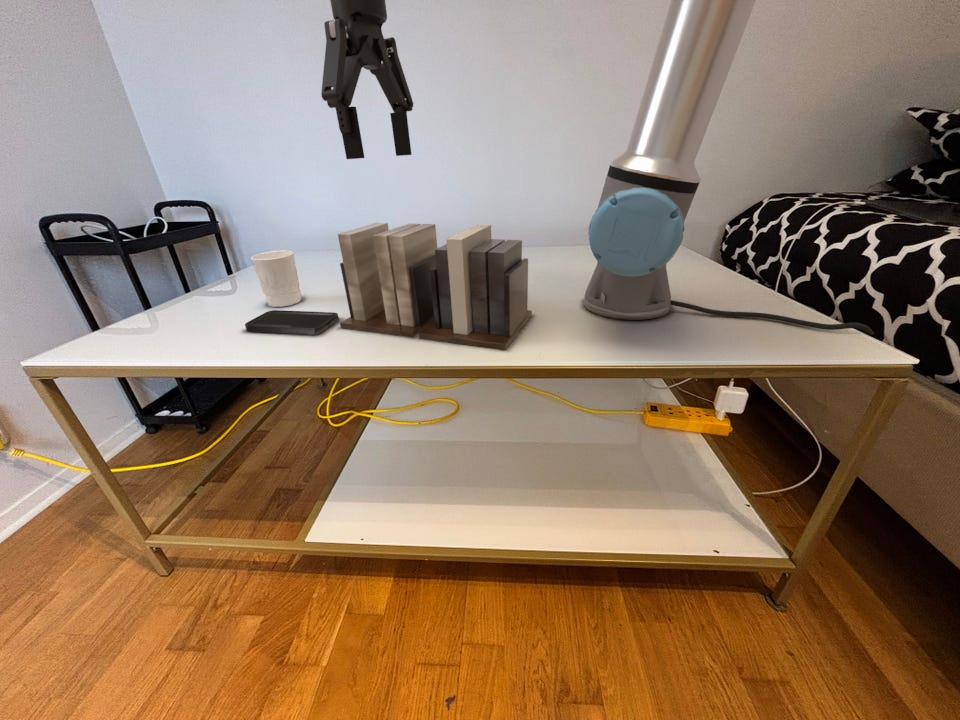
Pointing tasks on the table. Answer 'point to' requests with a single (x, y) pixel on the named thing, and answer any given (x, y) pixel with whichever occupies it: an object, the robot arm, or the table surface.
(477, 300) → the grey stand
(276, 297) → the white cup
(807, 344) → the table surface
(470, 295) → the white book
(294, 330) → the phone
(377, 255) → the beige book set
